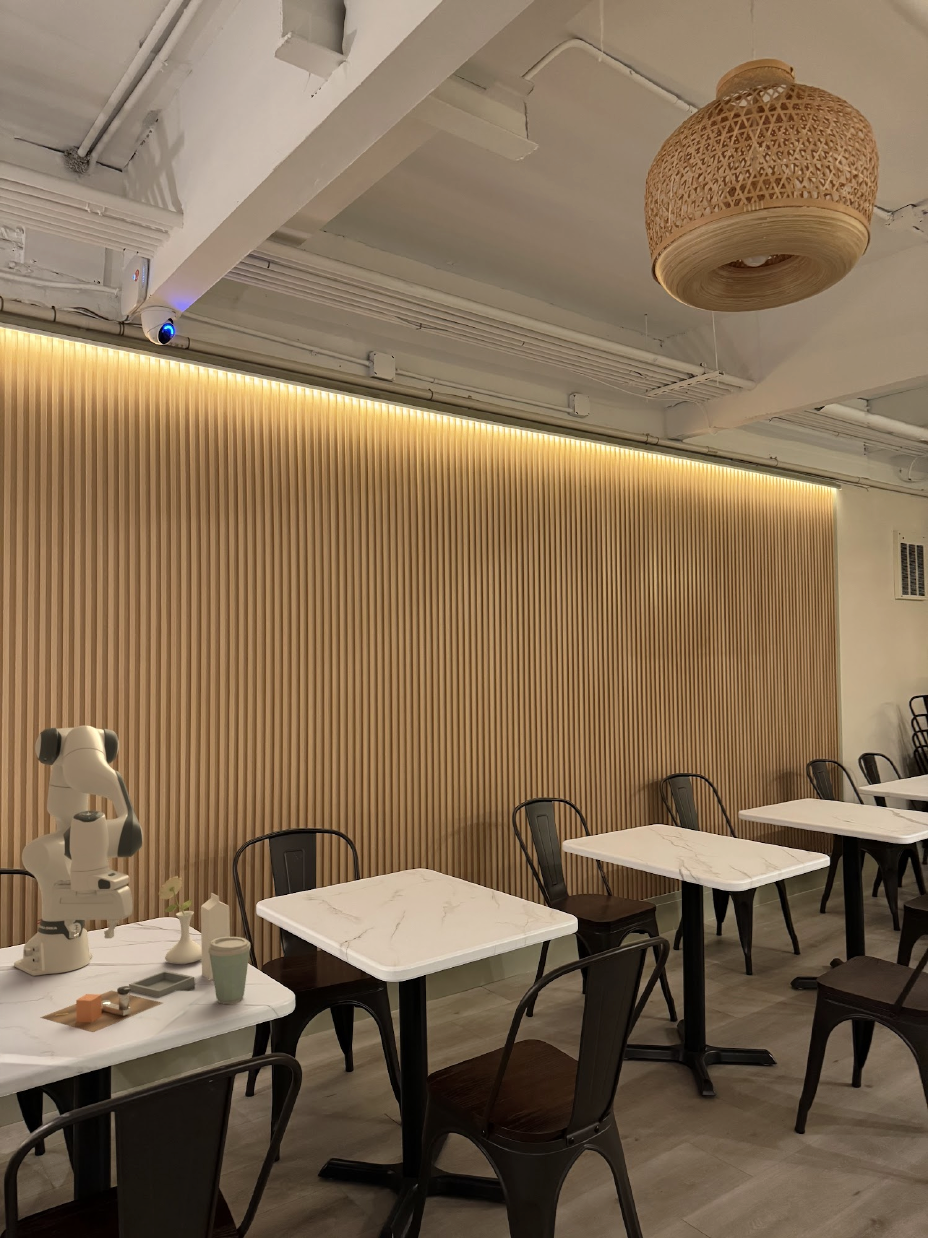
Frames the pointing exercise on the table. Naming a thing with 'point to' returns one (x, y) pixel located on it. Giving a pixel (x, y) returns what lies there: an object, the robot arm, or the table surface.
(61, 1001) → the table surface
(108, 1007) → the crank
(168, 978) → the tray
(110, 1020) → the plate
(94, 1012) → the orange block
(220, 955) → the disposable coffee cup
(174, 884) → the flower in vase
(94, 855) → the robot arm
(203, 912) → the milk
